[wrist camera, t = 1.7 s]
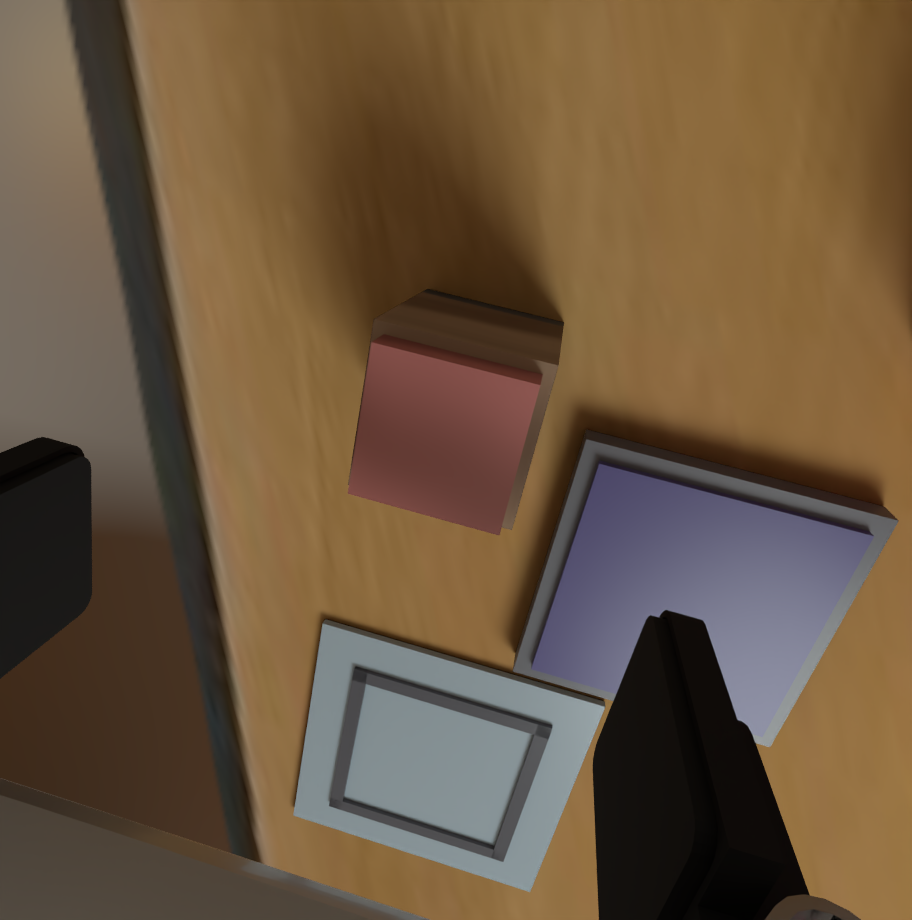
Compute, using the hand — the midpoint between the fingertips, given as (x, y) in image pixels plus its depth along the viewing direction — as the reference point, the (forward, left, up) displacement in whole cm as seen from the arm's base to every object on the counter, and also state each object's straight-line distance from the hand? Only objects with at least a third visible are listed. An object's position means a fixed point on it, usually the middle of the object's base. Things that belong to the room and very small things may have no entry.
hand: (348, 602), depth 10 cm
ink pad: (+5, +9, -13) cm, 17 cm away
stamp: (-1, 0, -13) cm, 13 cm away
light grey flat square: (+17, +2, -13) cm, 22 cm away
